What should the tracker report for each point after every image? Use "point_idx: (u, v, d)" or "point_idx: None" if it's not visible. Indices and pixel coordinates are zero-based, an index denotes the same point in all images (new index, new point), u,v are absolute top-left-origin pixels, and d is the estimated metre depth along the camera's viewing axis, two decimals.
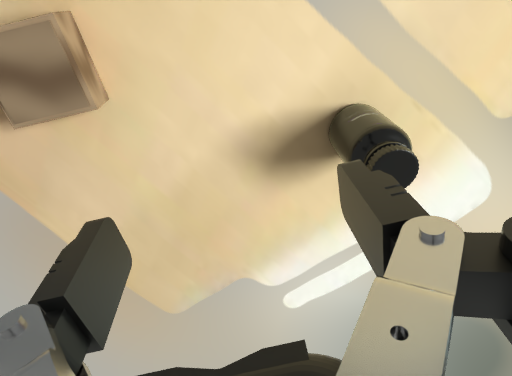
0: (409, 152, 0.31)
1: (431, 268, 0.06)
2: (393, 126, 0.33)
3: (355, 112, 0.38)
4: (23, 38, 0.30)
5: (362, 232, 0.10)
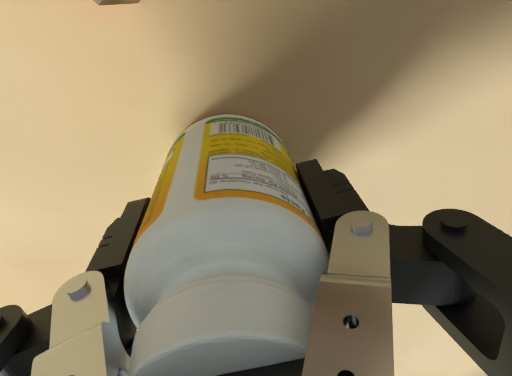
0: None
1: (366, 257, 0.07)
2: None
3: None
4: None
5: None
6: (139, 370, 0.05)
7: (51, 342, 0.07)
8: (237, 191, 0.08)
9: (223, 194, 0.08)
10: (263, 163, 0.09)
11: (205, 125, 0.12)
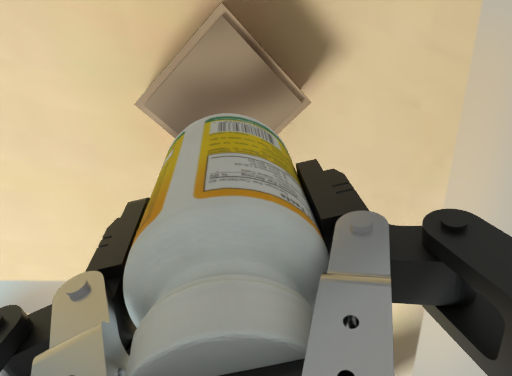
0: None
1: (367, 257, 0.07)
2: None
3: None
4: None
5: None
6: (138, 369, 0.05)
7: (51, 342, 0.07)
8: (237, 190, 0.08)
9: (223, 192, 0.08)
10: (262, 162, 0.09)
11: (205, 124, 0.12)
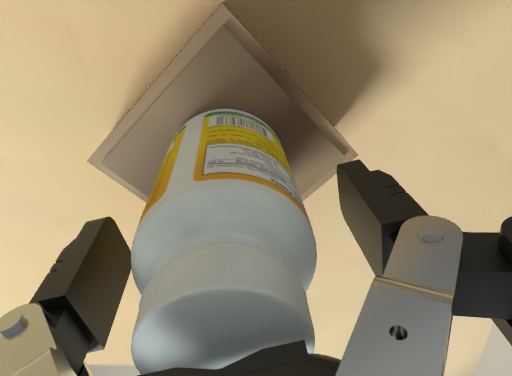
0: None
1: (431, 268, 0.06)
2: None
3: None
4: None
5: (361, 232, 0.10)
6: (146, 318, 0.07)
7: None
8: (231, 174, 0.09)
9: (219, 176, 0.09)
10: (256, 151, 0.10)
11: (204, 118, 0.13)
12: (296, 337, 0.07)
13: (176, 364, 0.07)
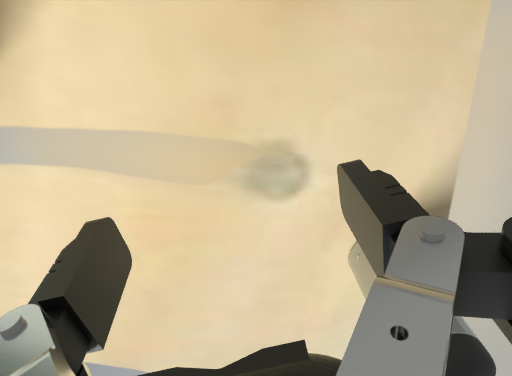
0: None
1: (431, 268, 0.06)
2: None
3: None
4: None
5: (362, 232, 0.10)
6: None
7: None
8: None
9: None
10: None
11: None
12: None
13: None
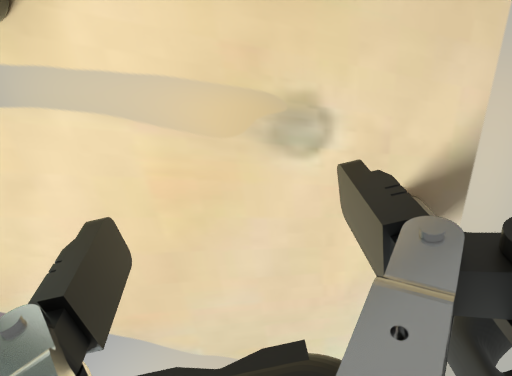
0: None
1: (431, 268, 0.06)
2: None
3: None
4: None
5: (362, 232, 0.10)
6: None
7: None
8: None
9: None
10: None
11: None
12: None
13: None
